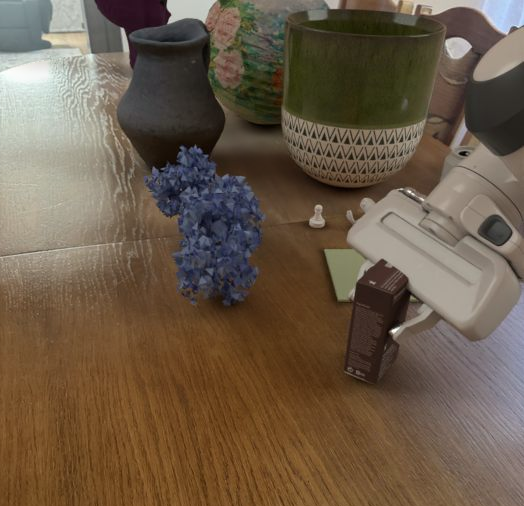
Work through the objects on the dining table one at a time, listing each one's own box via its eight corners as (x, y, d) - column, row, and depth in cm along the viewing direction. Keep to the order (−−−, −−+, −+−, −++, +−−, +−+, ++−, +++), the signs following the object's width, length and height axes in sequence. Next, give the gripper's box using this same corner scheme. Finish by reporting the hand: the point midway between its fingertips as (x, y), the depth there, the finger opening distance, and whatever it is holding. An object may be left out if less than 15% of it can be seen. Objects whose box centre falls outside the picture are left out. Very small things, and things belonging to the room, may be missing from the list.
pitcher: (101, 172, 108) (78, 24, 93) (166, 140, 124) (157, 9, 108) (190, 195, 101) (182, 40, 86) (248, 159, 117) (250, 21, 101)
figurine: (348, 237, 87) (336, 203, 96) (378, 257, 89) (364, 222, 98) (375, 207, 84) (360, 175, 93) (405, 229, 86) (388, 196, 95)
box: (378, 387, 61) (393, 293, 54) (341, 372, 63) (351, 280, 56) (401, 358, 65) (418, 267, 58) (366, 345, 67) (378, 255, 60)
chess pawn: (308, 221, 95) (309, 201, 92) (323, 221, 95) (325, 201, 93) (310, 228, 93) (312, 208, 90) (325, 228, 93) (328, 208, 91)
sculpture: (179, 79, 166) (172, -45, 147) (102, 81, 161) (84, -46, 142) (170, 65, 179) (162, -51, 160) (98, 67, 174) (81, -52, 155)
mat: (438, 251, 88) (438, 249, 88) (467, 301, 77) (468, 299, 77) (324, 251, 87) (324, 248, 86) (337, 301, 76) (338, 299, 76)
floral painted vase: (339, 109, 147) (354, -29, 128) (328, 151, 122) (346, -13, 103) (219, 99, 151) (217, -36, 132) (185, 137, 125) (176, -23, 107)
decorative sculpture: (283, 224, 64) (231, 120, 85) (154, 250, 62) (133, 136, 83) (287, 318, 74) (240, 204, 95) (177, 342, 72) (154, 221, 93)
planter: (298, 212, 97) (311, 37, 80) (263, 158, 117) (267, 8, 100) (438, 202, 102) (478, 35, 85) (381, 151, 122) (405, 8, 106)
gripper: (388, 165, 62) (305, 261, 64) (536, 247, 48) (423, 367, 50) (412, 196, 66) (333, 285, 69) (553, 280, 52) (449, 388, 55)
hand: (372, 321), depth 59 cm, fingers closed on box, 6 cm apart
